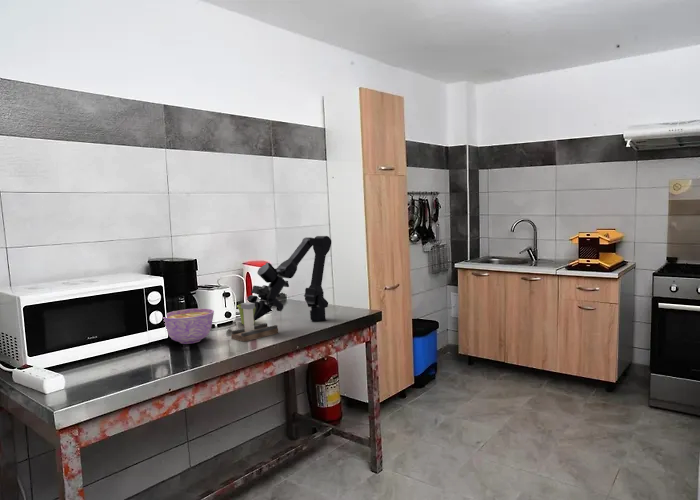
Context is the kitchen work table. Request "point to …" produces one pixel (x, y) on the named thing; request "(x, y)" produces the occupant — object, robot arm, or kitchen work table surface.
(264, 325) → the rail
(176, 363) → the kitchen work table surface
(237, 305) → the plant pot
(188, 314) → the bowl of food
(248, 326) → the fader tab
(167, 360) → the kitchen work table surface
